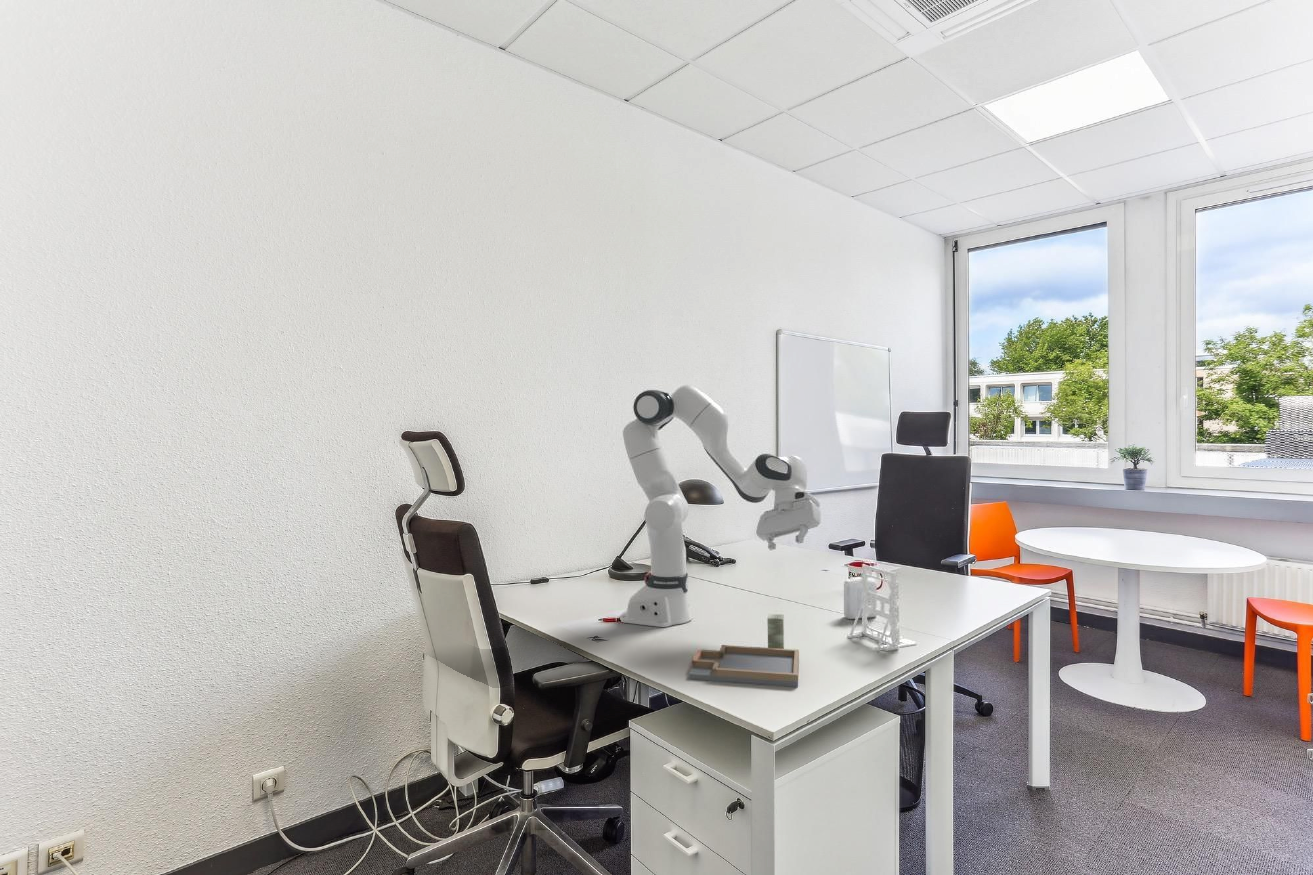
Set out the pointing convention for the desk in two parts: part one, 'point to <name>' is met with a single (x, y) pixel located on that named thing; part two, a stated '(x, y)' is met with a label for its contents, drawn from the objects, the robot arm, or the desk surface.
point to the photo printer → (857, 596)
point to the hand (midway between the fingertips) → (785, 545)
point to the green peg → (775, 631)
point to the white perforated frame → (881, 612)
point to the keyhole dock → (747, 665)
